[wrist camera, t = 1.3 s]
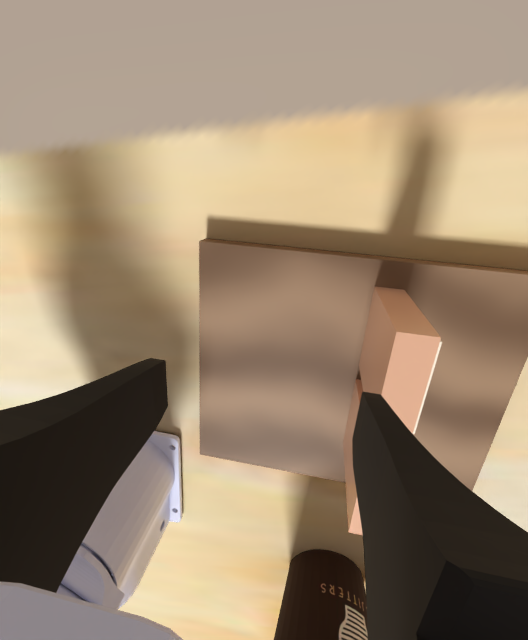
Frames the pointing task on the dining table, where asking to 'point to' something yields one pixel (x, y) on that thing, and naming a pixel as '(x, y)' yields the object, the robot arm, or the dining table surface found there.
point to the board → (346, 353)
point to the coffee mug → (323, 599)
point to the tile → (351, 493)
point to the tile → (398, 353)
